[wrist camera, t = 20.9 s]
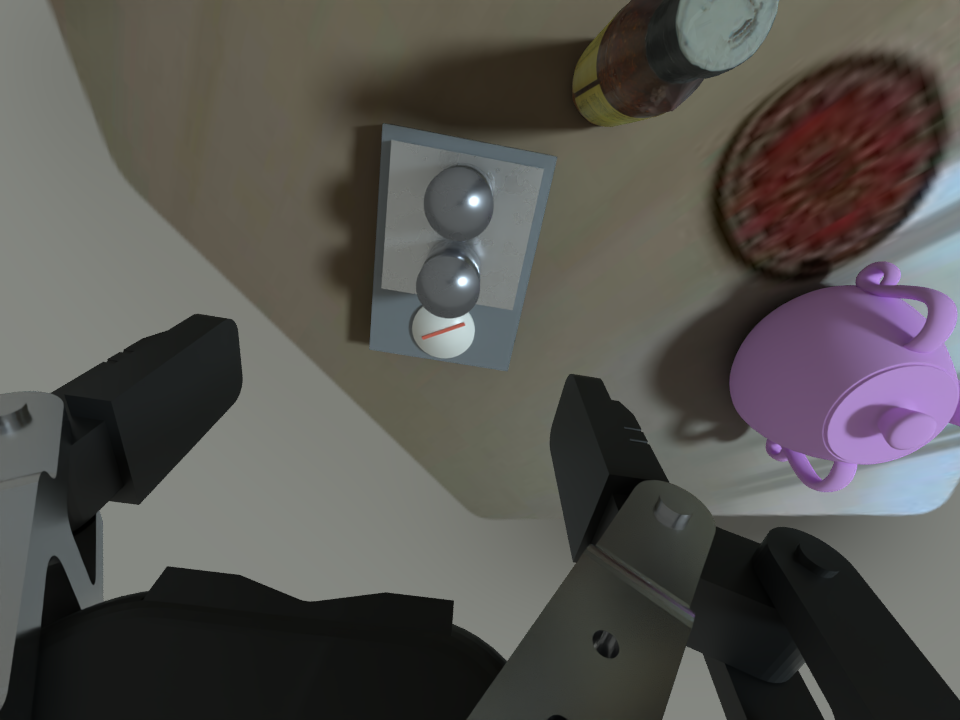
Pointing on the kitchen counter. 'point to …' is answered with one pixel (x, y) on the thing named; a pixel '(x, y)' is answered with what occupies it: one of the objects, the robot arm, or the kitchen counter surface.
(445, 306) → the cylinder
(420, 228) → the pan
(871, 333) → the teapot
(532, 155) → the scale
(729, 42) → the sauce bottle
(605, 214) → the kitchen counter surface
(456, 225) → the cylinder
